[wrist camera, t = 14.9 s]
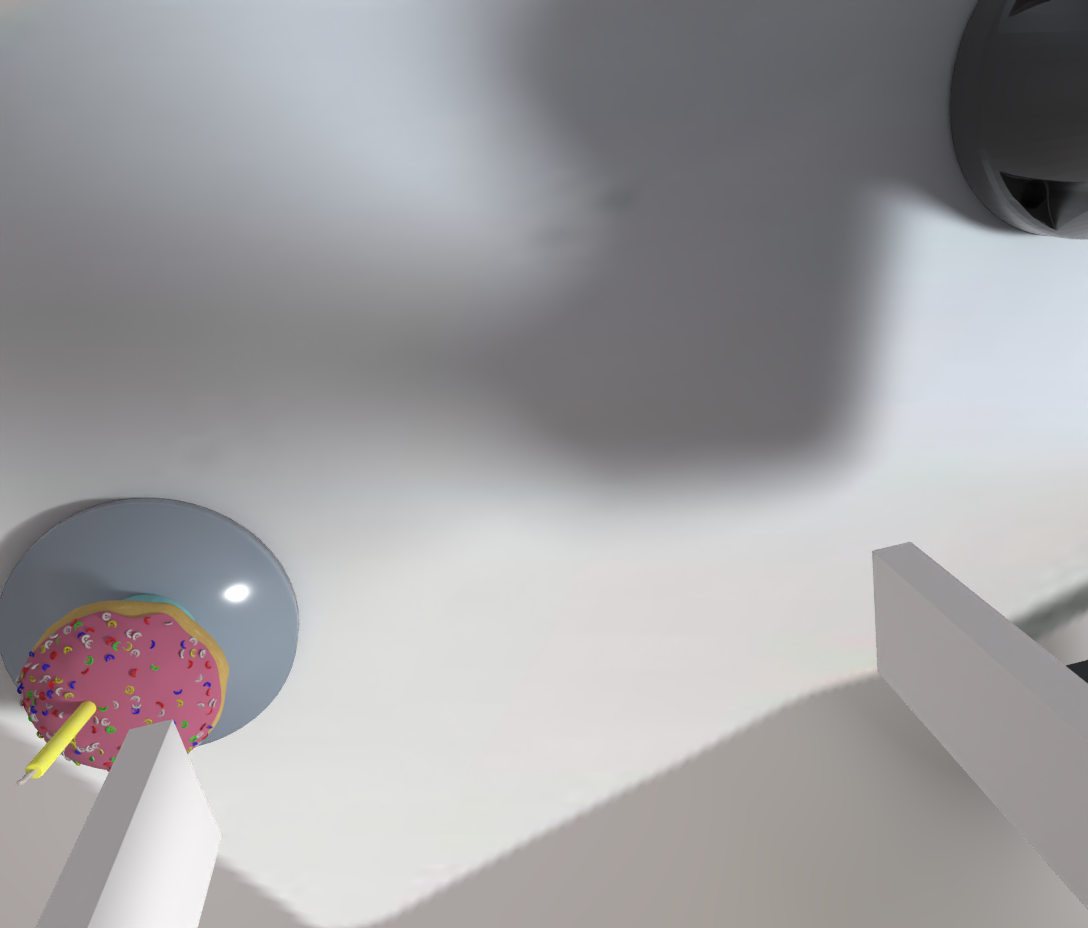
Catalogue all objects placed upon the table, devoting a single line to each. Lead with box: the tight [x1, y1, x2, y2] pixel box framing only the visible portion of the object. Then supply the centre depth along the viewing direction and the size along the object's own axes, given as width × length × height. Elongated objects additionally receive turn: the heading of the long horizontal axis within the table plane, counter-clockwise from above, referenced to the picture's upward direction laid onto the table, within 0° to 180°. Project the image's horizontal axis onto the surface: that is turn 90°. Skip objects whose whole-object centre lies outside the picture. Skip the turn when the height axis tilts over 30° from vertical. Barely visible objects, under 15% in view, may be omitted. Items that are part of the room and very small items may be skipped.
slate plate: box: [0, 498, 299, 746], centre depth 44 cm, size 14×14×1 cm
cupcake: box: [16, 595, 229, 785], centre depth 38 cm, size 9×8×12 cm
